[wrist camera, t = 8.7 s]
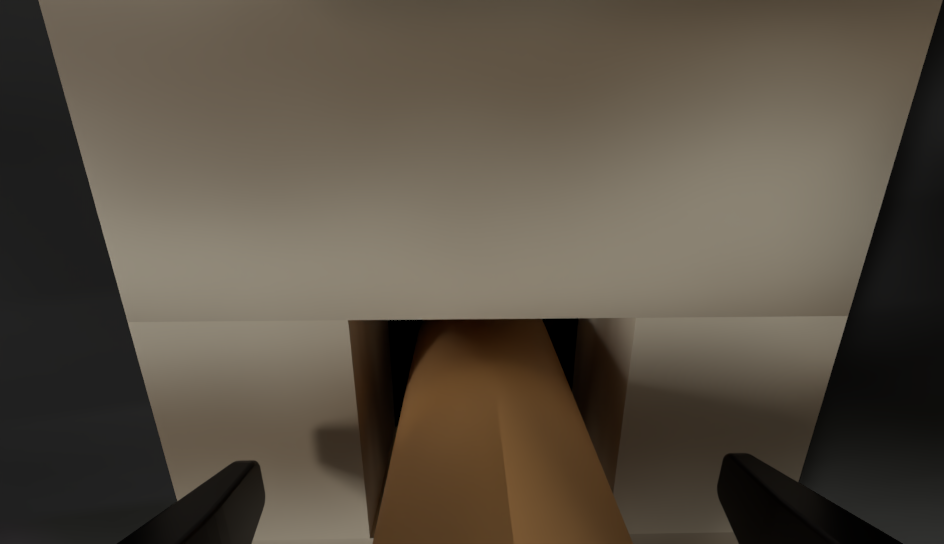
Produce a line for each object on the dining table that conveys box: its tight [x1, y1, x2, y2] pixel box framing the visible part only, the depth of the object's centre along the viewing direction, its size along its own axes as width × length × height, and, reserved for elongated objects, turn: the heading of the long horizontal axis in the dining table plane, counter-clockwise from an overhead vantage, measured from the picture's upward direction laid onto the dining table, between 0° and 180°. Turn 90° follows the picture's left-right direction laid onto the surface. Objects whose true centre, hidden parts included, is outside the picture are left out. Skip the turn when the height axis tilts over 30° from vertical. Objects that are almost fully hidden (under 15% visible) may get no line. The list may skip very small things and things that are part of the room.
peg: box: [373, 319, 633, 544], centre depth 9 cm, size 4×4×10 cm
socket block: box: [39, 0, 943, 544], centre depth 11 cm, size 19×14×4 cm
